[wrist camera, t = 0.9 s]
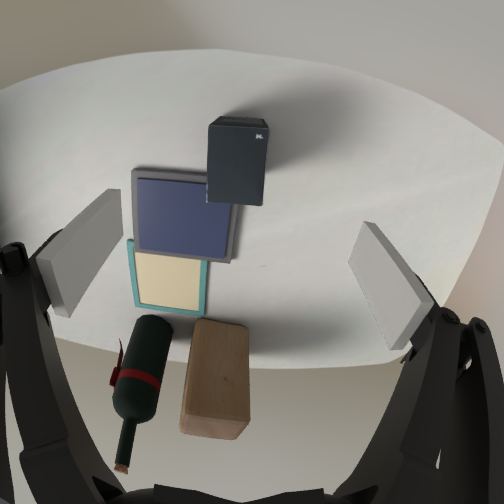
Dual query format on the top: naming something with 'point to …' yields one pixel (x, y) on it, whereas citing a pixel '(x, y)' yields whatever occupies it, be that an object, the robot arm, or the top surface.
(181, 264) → the print frame
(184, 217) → the ink pad
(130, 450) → the wine bottle
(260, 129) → the box
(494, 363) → the robot arm
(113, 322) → the top surface
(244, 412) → the wooden block
